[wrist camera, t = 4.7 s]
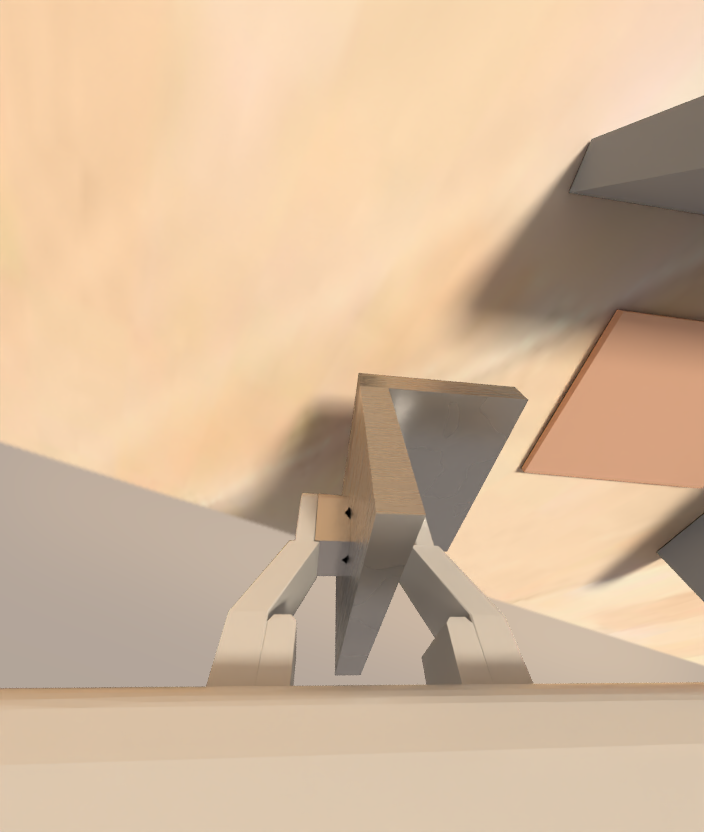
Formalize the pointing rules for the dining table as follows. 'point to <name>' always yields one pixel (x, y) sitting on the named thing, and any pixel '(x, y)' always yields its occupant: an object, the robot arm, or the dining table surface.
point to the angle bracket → (409, 486)
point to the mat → (632, 407)
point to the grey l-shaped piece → (665, 188)
